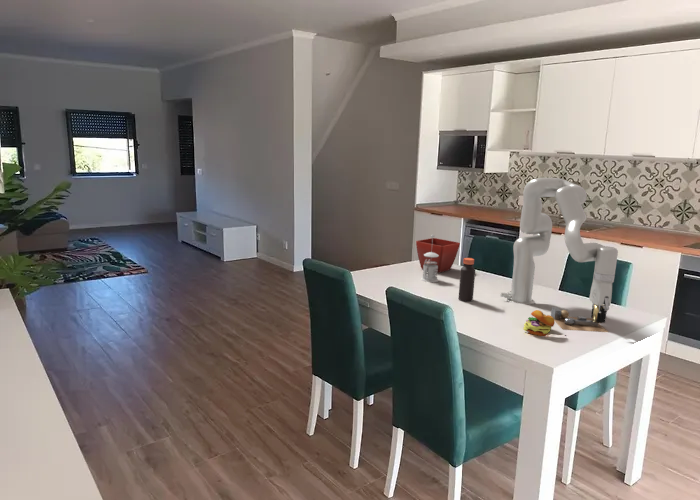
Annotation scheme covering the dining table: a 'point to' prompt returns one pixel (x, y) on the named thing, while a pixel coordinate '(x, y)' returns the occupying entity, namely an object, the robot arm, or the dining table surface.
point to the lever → (584, 318)
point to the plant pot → (438, 252)
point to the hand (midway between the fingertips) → (597, 319)
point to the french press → (430, 267)
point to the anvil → (556, 313)
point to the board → (580, 326)
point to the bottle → (467, 280)
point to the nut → (564, 314)
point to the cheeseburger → (539, 323)
